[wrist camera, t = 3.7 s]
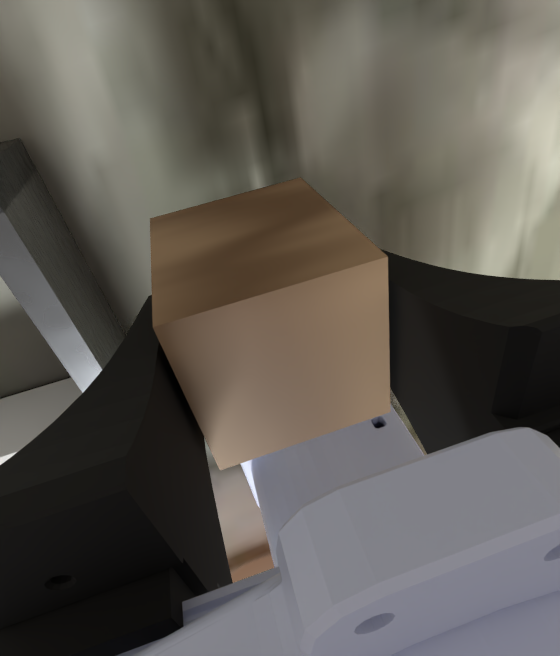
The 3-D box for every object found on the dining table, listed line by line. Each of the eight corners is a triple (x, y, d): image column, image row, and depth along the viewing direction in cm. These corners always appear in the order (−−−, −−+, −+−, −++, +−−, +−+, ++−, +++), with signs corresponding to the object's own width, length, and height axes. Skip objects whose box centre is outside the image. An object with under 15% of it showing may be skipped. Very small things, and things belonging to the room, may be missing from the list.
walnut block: (300, 177, 12) (388, 256, 8) (318, 301, 15) (390, 411, 10) (150, 218, 12) (152, 327, 7) (197, 339, 14) (220, 470, 10)
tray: (104, 367, 18) (97, 426, 16) (196, 517, 27) (202, 572, 24) (-231, 469, 17) (-303, 553, 14) (-21, 593, 26) (-40, 660, 23)
